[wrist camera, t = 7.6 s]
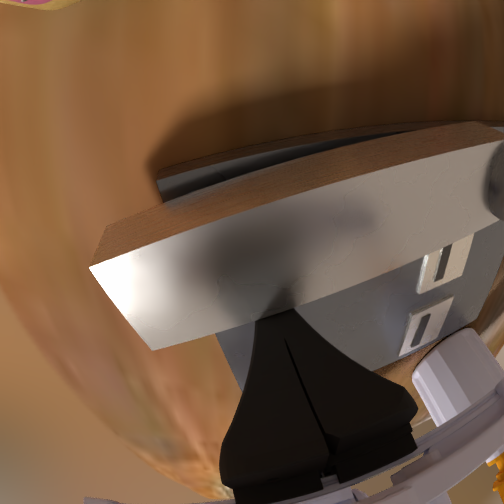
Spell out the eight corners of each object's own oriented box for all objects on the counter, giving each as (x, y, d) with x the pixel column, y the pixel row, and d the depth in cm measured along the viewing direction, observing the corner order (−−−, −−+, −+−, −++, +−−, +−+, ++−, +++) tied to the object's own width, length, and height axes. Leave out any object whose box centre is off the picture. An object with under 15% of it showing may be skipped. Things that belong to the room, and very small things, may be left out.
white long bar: (155, 301, 12) (151, 359, 9) (107, 223, 9) (85, 276, 7) (486, 186, 12) (524, 213, 10) (491, 117, 10) (536, 137, 7)
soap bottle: (466, 315, 23) (571, 499, 3) (475, 337, 27) (558, 482, 7) (399, 373, 25) (484, 559, 5) (422, 383, 30) (492, 529, 10)
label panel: (470, 310, 22) (478, 320, 21) (248, 396, 21) (251, 413, 20) (518, 122, 12) (534, 129, 10) (159, 169, 10) (155, 184, 9)
